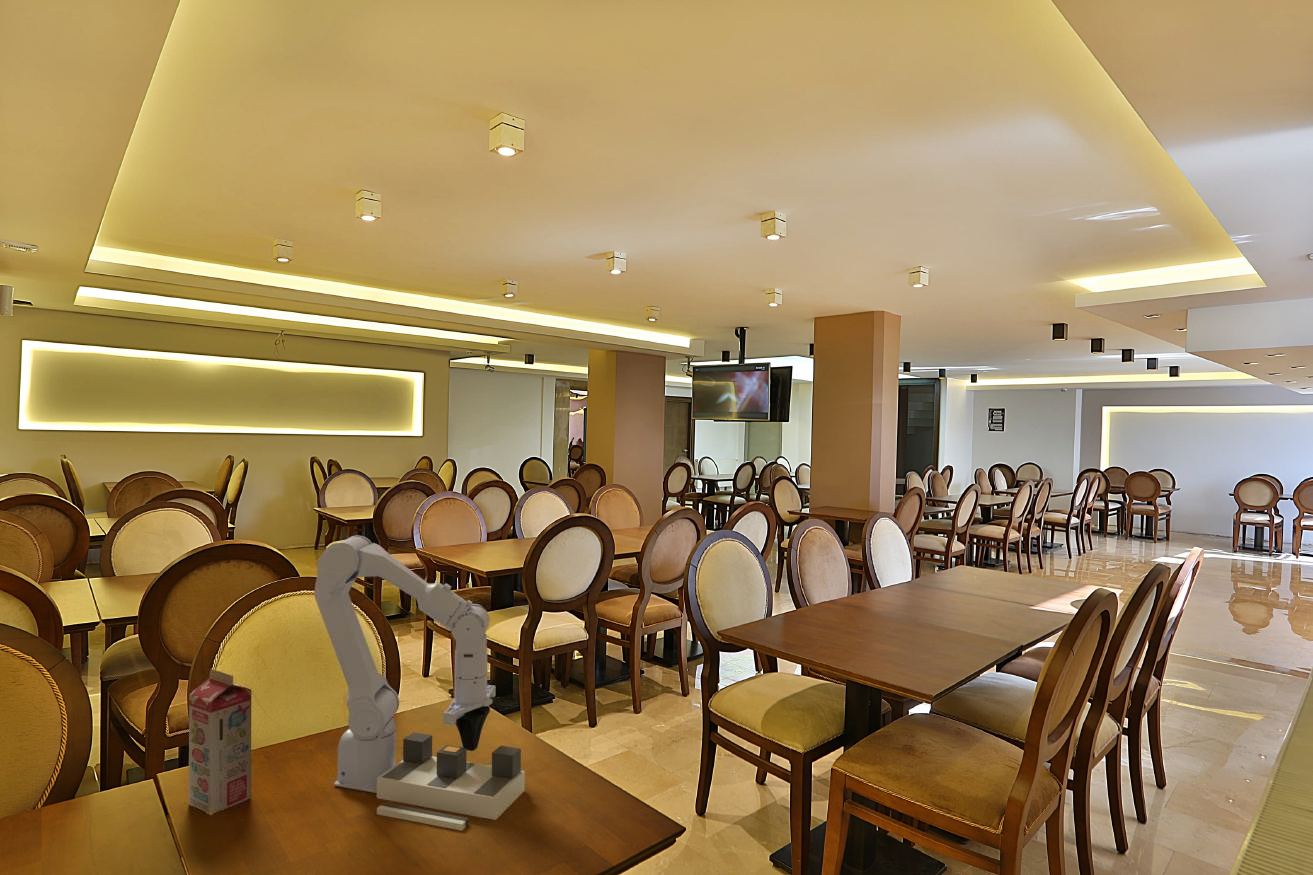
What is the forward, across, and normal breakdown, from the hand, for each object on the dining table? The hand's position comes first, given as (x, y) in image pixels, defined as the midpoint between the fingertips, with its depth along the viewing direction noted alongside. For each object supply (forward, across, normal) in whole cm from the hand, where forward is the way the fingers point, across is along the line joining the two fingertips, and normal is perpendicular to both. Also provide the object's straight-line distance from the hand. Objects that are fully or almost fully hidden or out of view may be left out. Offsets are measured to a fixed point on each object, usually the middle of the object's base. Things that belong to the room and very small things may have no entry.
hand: (470, 748), depth 130 cm
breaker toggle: (+2, -6, 0) cm, 6 cm away
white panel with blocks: (+5, -6, 0) cm, 8 cm away
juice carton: (+6, -20, +36) cm, 42 cm away
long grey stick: (+5, -14, 0) cm, 15 cm away
